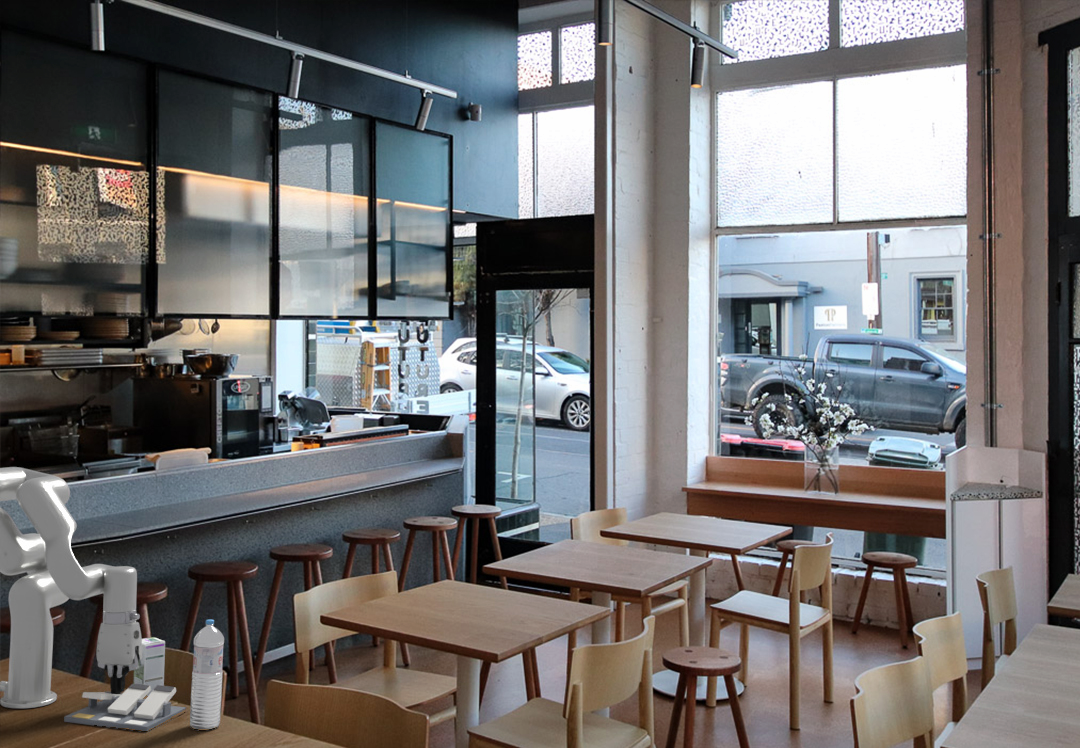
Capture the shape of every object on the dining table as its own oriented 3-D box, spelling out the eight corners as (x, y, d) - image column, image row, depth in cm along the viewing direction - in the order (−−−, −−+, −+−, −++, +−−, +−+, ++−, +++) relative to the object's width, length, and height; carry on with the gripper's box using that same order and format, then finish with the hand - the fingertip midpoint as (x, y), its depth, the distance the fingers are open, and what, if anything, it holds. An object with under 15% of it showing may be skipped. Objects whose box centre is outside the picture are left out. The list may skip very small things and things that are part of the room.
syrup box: (164, 697, 265) (166, 640, 265) (141, 701, 260) (144, 643, 261) (153, 692, 269) (156, 636, 269) (131, 696, 264) (134, 639, 265)
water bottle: (210, 732, 239) (215, 624, 240) (183, 729, 240) (189, 621, 241) (225, 723, 246) (230, 618, 246) (199, 721, 247) (204, 616, 248)
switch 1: (81, 697, 246) (83, 691, 247) (106, 697, 255) (108, 691, 256) (100, 699, 245) (102, 693, 245) (125, 699, 254) (126, 693, 255)
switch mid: (108, 712, 245) (106, 707, 245) (132, 687, 254) (132, 682, 254) (127, 715, 244) (126, 709, 243) (151, 690, 253) (150, 684, 253)
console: (64, 721, 242) (65, 704, 243) (107, 702, 258) (108, 686, 258) (146, 732, 237) (147, 714, 238) (186, 712, 253) (186, 696, 253)
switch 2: (134, 717, 244) (133, 712, 243) (157, 689, 252) (156, 684, 252) (154, 719, 242) (152, 714, 242) (176, 691, 251) (175, 686, 251)
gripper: (155, 616, 256) (153, 690, 256) (102, 612, 260) (100, 686, 259) (137, 622, 249) (135, 699, 249) (83, 618, 252) (81, 694, 252)
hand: (117, 692), depth 254 cm, fingers closed
